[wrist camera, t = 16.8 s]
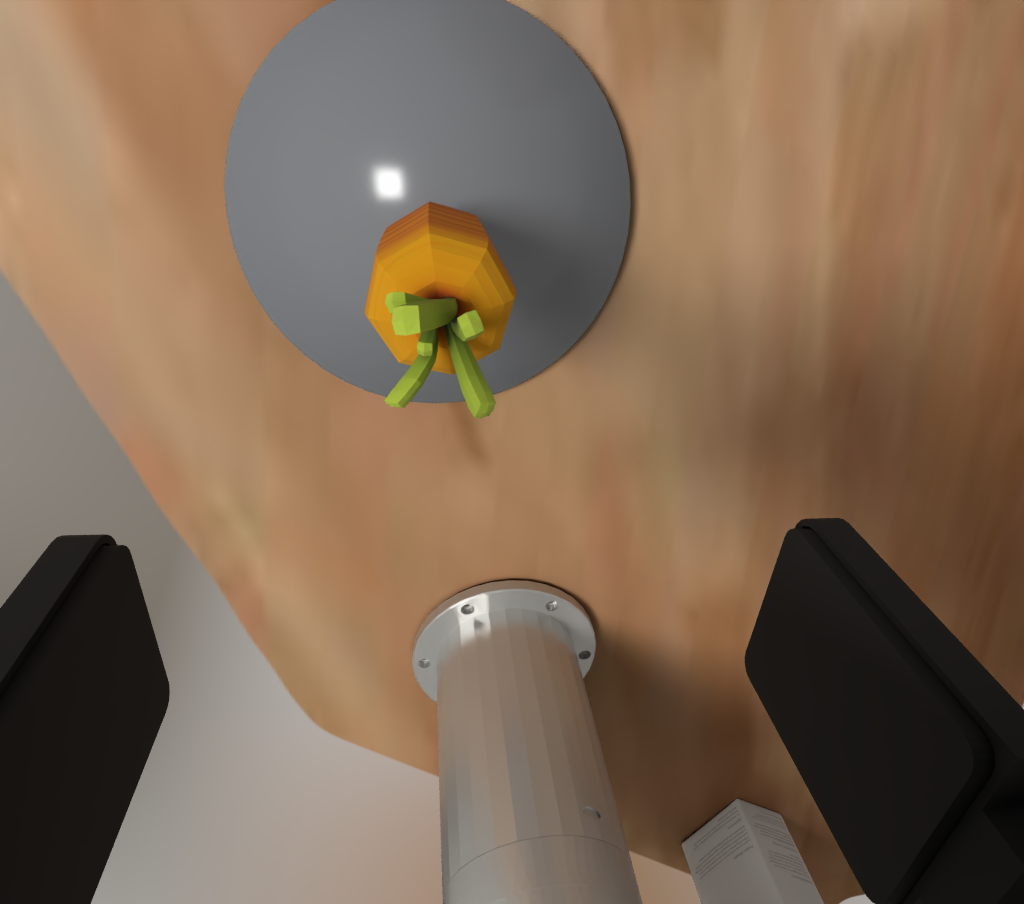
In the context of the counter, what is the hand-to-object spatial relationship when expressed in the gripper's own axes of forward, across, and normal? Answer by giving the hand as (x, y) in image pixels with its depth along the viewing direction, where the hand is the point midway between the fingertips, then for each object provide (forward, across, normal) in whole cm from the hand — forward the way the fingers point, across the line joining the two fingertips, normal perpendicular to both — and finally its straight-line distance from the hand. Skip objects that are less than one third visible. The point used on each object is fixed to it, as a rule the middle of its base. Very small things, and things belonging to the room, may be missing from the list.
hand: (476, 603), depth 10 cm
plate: (+25, 0, -1) cm, 25 cm away
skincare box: (+26, -28, +54) cm, 66 cm away
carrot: (+24, 0, 0) cm, 24 cm away
